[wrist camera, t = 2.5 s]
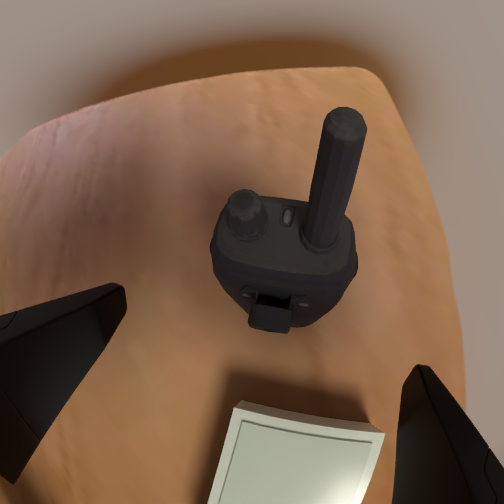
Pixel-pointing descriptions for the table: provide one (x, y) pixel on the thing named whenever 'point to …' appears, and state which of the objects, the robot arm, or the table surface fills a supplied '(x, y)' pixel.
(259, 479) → the sage tile
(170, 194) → the table surface
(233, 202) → the two-way radio
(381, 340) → the table surface
